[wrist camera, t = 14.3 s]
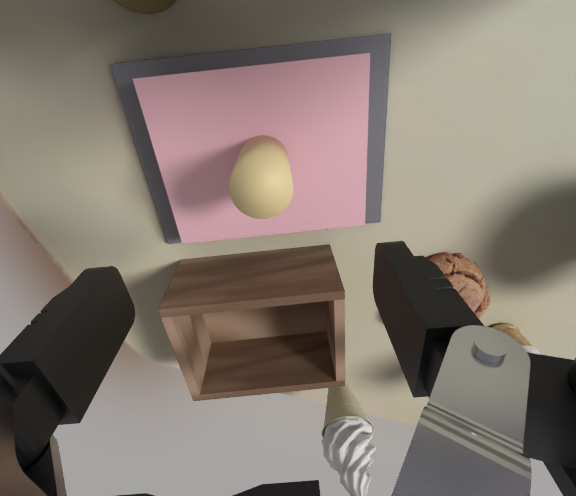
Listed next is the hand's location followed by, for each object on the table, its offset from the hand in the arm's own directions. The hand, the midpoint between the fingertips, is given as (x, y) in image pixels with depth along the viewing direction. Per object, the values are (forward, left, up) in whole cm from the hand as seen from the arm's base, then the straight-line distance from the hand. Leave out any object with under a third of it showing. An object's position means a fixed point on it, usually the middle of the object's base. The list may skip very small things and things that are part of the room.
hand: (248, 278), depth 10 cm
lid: (0, 0, -17) cm, 17 cm away
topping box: (+15, -2, -17) cm, 23 cm away
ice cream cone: (+26, +5, -18) cm, 32 cm away
